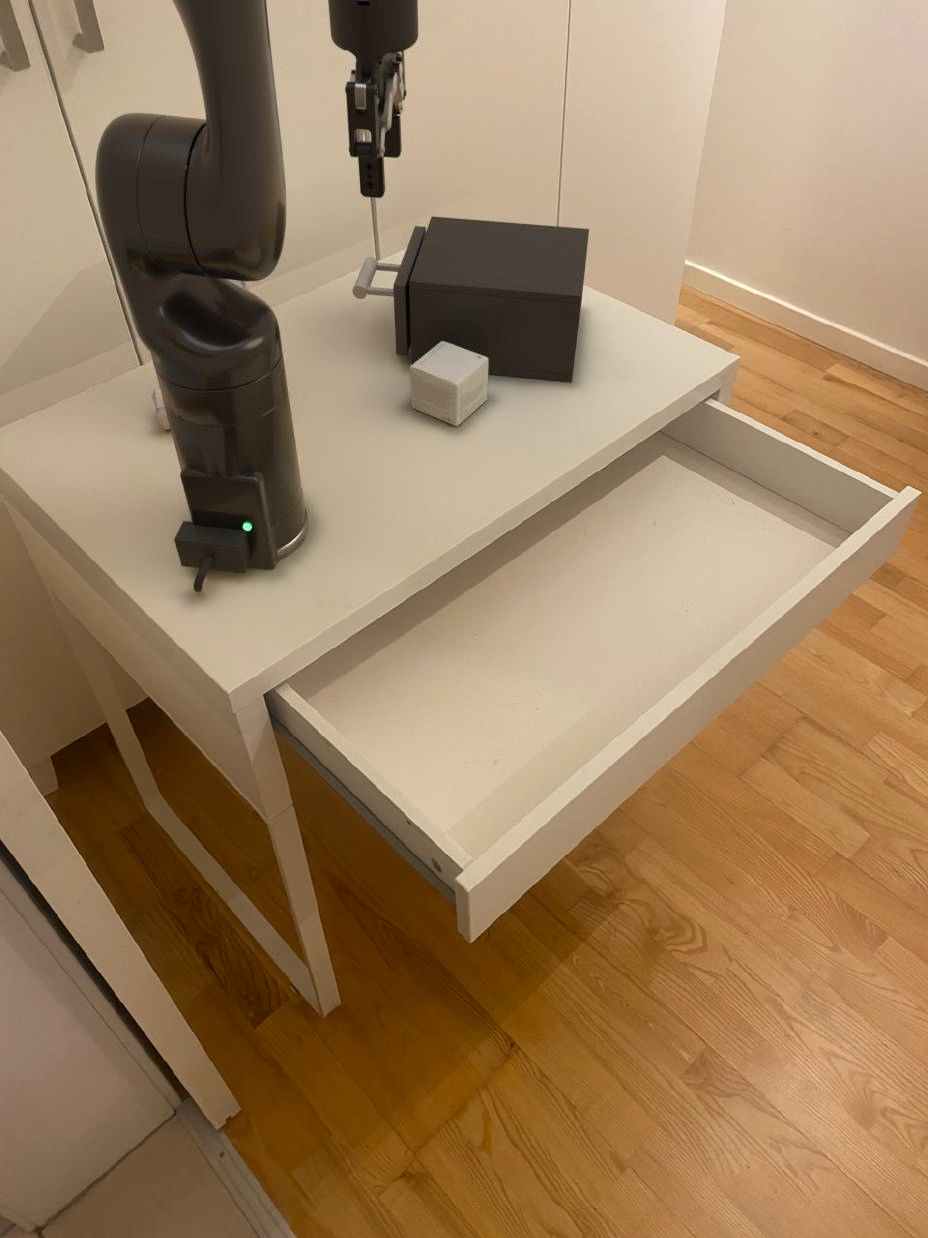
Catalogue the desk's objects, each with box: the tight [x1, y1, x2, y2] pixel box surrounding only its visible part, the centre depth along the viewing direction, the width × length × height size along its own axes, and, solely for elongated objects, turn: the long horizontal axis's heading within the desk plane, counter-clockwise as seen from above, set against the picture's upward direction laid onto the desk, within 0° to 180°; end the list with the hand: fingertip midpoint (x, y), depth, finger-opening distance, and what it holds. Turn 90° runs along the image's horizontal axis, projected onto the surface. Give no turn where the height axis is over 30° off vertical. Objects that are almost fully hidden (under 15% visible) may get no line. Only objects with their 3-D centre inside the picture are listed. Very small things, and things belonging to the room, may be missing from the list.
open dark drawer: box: [351, 225, 427, 357], centre depth 100 cm, size 20×12×8 cm, turn 82°
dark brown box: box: [409, 215, 590, 383], centre depth 99 cm, size 17×14×10 cm
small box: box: [409, 341, 489, 427], centre depth 93 cm, size 6×6×5 cm
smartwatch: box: [151, 387, 171, 431], centre depth 90 cm, size 4×2×4 cm, turn 16°
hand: (381, 175), depth 92 cm, fingers open, 8 cm apart
